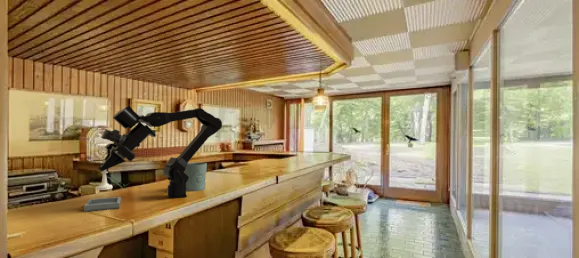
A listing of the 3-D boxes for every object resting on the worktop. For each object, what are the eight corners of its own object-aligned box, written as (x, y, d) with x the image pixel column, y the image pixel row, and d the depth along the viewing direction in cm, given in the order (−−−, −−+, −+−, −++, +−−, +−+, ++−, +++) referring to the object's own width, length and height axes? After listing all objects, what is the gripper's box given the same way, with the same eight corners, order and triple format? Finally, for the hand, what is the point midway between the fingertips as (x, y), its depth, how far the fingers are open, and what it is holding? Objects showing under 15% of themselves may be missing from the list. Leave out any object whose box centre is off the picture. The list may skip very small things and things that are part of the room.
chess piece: (101, 187, 101) (101, 159, 101) (115, 186, 102) (115, 159, 102) (92, 190, 96) (92, 160, 96) (107, 189, 97) (107, 160, 97)
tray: (120, 202, 106) (120, 196, 106) (119, 208, 97) (119, 202, 97) (88, 204, 101) (89, 199, 101) (84, 212, 93) (84, 205, 93)
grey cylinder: (202, 191, 126) (202, 164, 126) (179, 191, 127) (180, 164, 127) (209, 187, 136) (209, 162, 137) (188, 186, 137) (188, 162, 137)
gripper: (111, 122, 109) (75, 152, 101) (124, 121, 95) (84, 156, 87) (134, 142, 114) (101, 172, 106) (149, 144, 100) (113, 178, 93)
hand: (99, 169), depth 98 cm, fingers closed on chess piece
